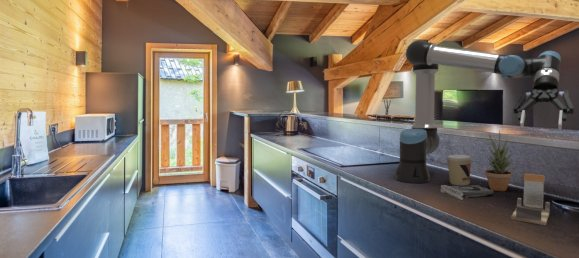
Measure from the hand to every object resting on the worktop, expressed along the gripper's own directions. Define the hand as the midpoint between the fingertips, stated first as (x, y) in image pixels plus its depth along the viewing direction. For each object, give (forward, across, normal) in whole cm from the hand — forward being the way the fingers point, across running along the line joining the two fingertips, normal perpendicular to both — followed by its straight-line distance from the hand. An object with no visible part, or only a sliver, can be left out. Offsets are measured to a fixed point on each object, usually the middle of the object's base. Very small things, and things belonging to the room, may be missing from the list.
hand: (540, 126), depth 119 cm
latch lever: (+27, 0, +8) cm, 28 cm away
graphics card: (+22, -21, +17) cm, 35 cm away
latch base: (+33, 0, +5) cm, 33 cm away
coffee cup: (+9, -29, +30) cm, 42 cm away
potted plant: (+10, -14, +29) cm, 34 cm away
